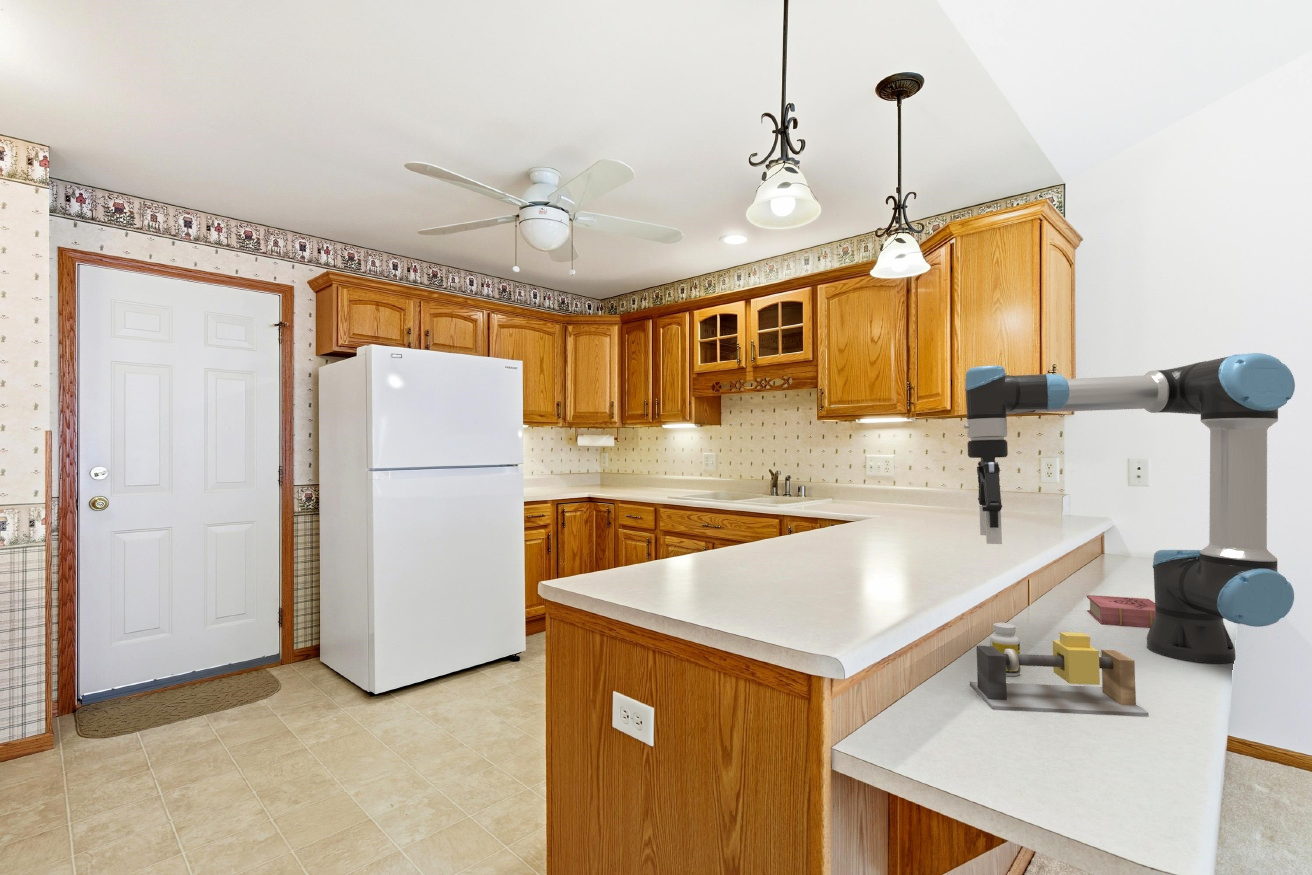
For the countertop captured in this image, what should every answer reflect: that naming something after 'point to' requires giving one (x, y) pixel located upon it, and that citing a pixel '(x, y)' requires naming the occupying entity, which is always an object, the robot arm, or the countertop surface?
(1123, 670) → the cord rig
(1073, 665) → the sleeve
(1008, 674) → the supplement bottle
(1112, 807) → the countertop surface
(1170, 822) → the countertop surface
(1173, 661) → the countertop surface
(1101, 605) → the book
